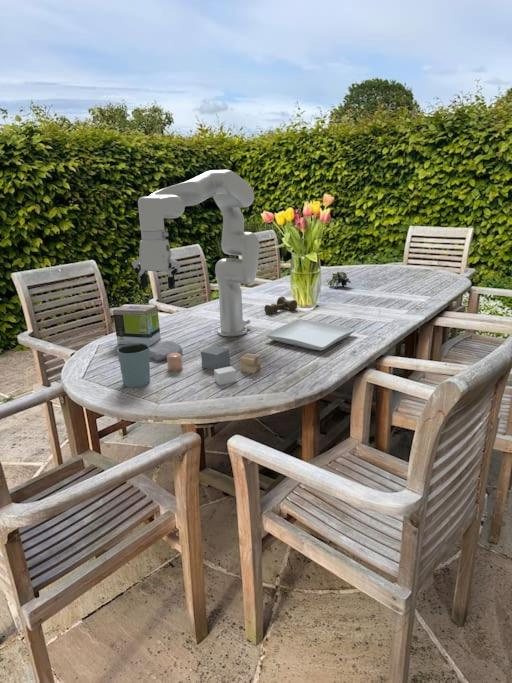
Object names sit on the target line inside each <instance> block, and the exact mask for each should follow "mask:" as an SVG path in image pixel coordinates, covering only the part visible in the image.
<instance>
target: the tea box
mask: <svg viewBox="0 0 512 683" xmlns="http://www.w3.org/2000/svg"><path fill="white" fill-rule="evenodd" d="M112 313H113V322H114V328H115V335H116V342H117V345H126V344H132V343H143V344H147V345H149V347H150V346H152V345H154V344H155V343H156V342H158V341H159V340H161V329H160V321H159V310H158V305H157V304H134V303H133V304H131V303H129V304H127V303H124V304H122V305H120V306H118V307H116V308H114V309H113V310H112Z"/></svg>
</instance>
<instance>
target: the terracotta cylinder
mask: <svg viewBox="0 0 512 683" xmlns="http://www.w3.org/2000/svg"><path fill="white" fill-rule="evenodd" d="M182 356H183V355H182V354H179V353H172V354H169V355H167V359H166V361H167V370H168V371H169V372H172V373H173V372H175V373H176V372H180V371H182V370H183V369H184V368H183V357H182Z"/></svg>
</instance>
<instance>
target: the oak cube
mask: <svg viewBox="0 0 512 683" xmlns="http://www.w3.org/2000/svg"><path fill="white" fill-rule="evenodd" d="M239 362H240V363H239V364H240V366H239V367H240V372H244V373H250V374H255V373H257V371H259V370H260V369H261V355H260V354H255V353H248V352H246V353H245V354H244V355H241V357H240V358H239Z"/></svg>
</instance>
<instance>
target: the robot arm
mask: <svg viewBox="0 0 512 683" xmlns="http://www.w3.org/2000/svg"><path fill="white" fill-rule="evenodd" d="M212 197H213V201H214V202H215V204H216V205H217V207H218V208H219V210H220V212H221V214H222V221H223V222H222V232H221V234H222V235H221V242H220V243H221V247H220V248H221V251H222V252H223V253H224V254H226V255H229V256H230V255H231V256H239V257H240V256H241V257H242V258H231V257H225V258H224V257H223V258H222V259H219V260H218V261H217V262H216V264H215V265H214V266H215V267H214V268H215V269H214V273H215V277H216V280H217V286H218V298H219V299H218V300H219V302H218V303H219V318H220V323H219V324H220V327H218V328H217V331H216V332H217V334H218V335H219V336H222V337H229V338H230V337H231V338H232V337H233V338H234V337H240V336H243V335H245V334H246V333H247V332H248V330H247V328H246V327H245V326H246V325H249V324H251V320H250V319H245V320H244V319H243V318H244V317H243V315H244V314H243V292H242V288H241V285H240V284H246V285H248V284H252V283H253V282H254V281H255V279H256V277H257V273H258V265H259V256H260V240H259V237H258V236H257V234H255V233H254V232H252V231H244V230H245V218H244V214H243V212H242V210H241V208H248V207H250V206H252V204H253V202H254V200H255V192H254V190H253V187H252V186H251V185H250V184H249V183H248V182H247V181H246V180H245V179H243V178H242V177H241V176H240V175H238V173H237V172H234V171H232V170H229V169H212V170H207V171H205V172H203V173H201V174H199V175H196V176H195V177H192V178H190V179H188V180H186V181H184V182H183V181H182V182H180V183H176V184H174V185H170V186H167V187H164V188H161V189H159V190H156V191H154V192H153V193H151V194H149V195H148V196H140V197H139V198H138V200H137V207H138V214H139V215H138V217H139V225H140V226H139V228H140V234H141V240H140V242H139V252H138V253H139V256H138V258H137V259H136V260H134V261H133V262H131V266H132V267H133V269H134V271H135V272H136V273H137V274H138V276H139V278H140V285H141V288H143V289H145V288H147V287H149V279H148V274H147V272H165V273H166V274H167V286H168V289H169V290H170V289H171V290H172V289H174V288H175V286H176V285H175V284H176V283H175V282H176V281H175V276H176V274H177V273H178V272H179V271H180V267H181V265H182V264H181V262H179V261H178V260H176V259H174V258H173V256H172V255H173V254H172V250H171V247H170V243H169V240H168V239H166V237H169V232H166V229H165V222H164V220H165V219H177V218H180V217H181V216H183V214H184V212H185V208H186V207H192V206H195V205H199V204H200V203H203V202H204V201H206V200H207V199H210V198H212ZM173 267H174V268H173ZM172 268H173V269H172Z"/></svg>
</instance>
